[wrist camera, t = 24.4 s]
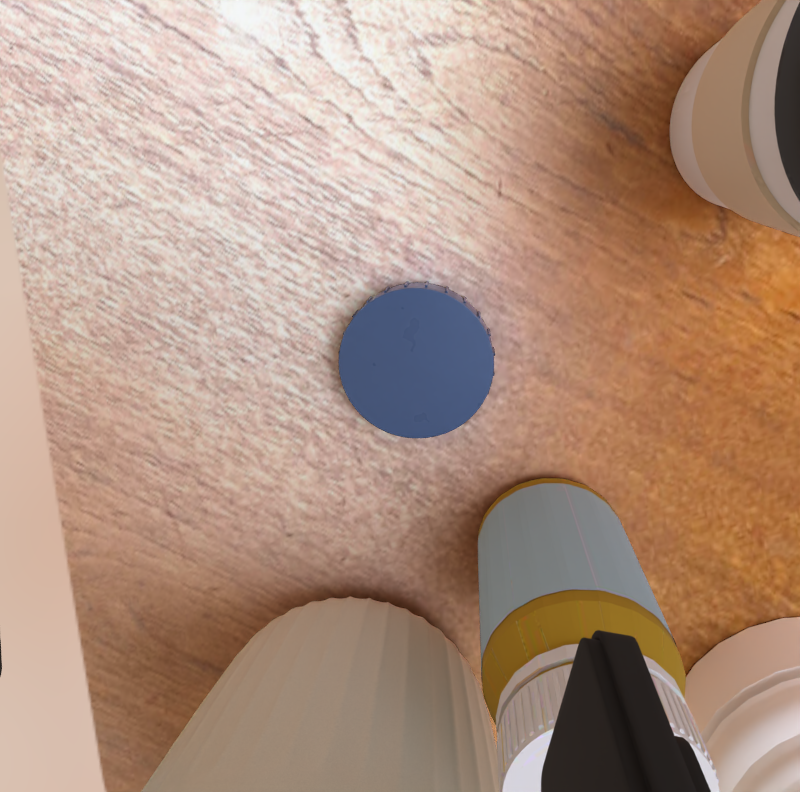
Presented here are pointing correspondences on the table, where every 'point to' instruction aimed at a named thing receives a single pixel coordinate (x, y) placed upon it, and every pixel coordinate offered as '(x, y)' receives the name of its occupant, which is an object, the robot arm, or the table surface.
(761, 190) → the coffee cup
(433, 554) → the table surface
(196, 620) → the table surface
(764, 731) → the honey pot
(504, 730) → the bottle
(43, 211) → the table surface
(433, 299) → the lid
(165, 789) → the canister
